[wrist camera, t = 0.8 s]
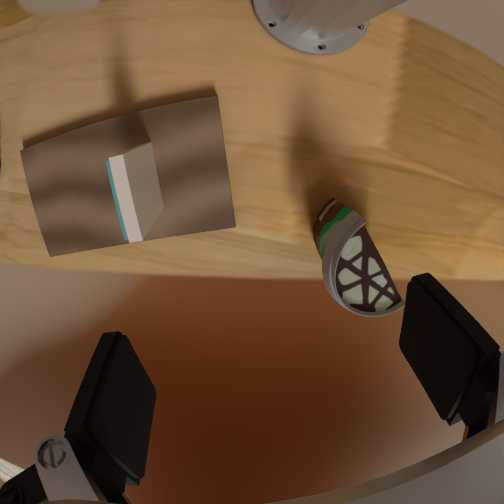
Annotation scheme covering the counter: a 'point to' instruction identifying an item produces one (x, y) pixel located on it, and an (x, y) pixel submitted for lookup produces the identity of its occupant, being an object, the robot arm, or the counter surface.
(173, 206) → the board
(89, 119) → the counter surface
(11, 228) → the counter surface
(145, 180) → the tile
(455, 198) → the counter surface
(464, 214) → the counter surface
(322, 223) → the food container
